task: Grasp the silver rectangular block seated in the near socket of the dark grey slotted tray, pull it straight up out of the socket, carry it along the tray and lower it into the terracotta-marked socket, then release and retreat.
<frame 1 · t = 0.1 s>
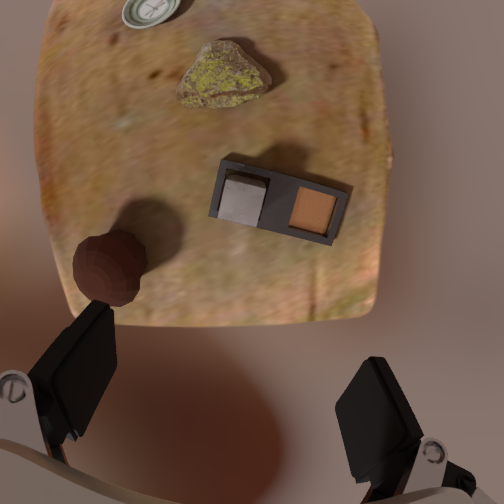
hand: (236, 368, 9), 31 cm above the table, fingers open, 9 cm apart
saucer: (155, 10, 27), on the table
rock: (222, 75, 32), on the table
dark grey slotted tray: (278, 201, 38), on the table
muffin: (123, 255, 41), on the table
silver rectangular block: (243, 192, 37), resting in dark grey slotted tray
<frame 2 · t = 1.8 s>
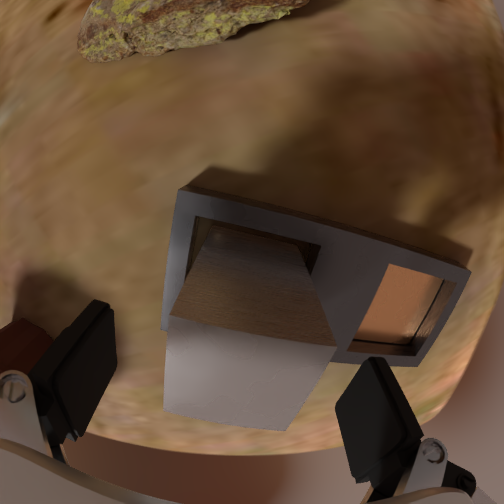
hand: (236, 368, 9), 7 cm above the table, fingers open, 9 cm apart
dark grey slotted tray: (329, 292, 15), on the table
muffin: (41, 354, 19), on the table
silver rectangular block: (245, 273, 15), resting in dark grey slotted tray
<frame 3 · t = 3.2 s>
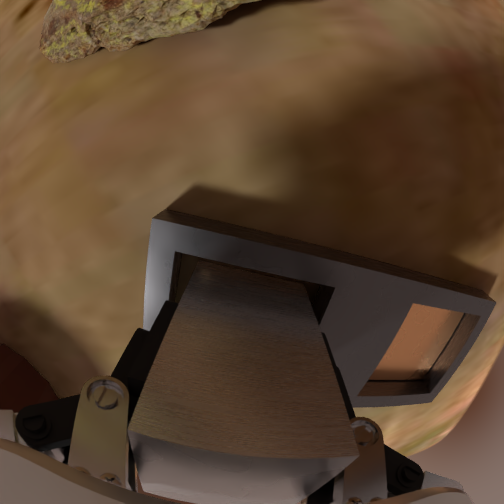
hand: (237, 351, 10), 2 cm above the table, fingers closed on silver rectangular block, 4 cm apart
dark grey slotted tray: (340, 333, 12), on the table
muffin: (26, 381, 16), on the table
silver rectangular block: (240, 316, 12), resting in dark grey slotted tray, touching gripper
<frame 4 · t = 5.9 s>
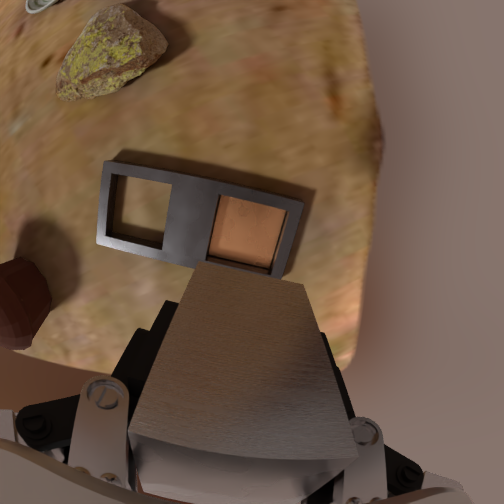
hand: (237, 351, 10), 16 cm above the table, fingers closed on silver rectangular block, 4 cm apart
rock: (112, 52, 18), on the table
dark grey slotted tray: (192, 219, 24), on the table
muffin: (30, 286, 27), on the table
silver rectangular block: (239, 317, 12), point 13 cm above the table, touching gripper
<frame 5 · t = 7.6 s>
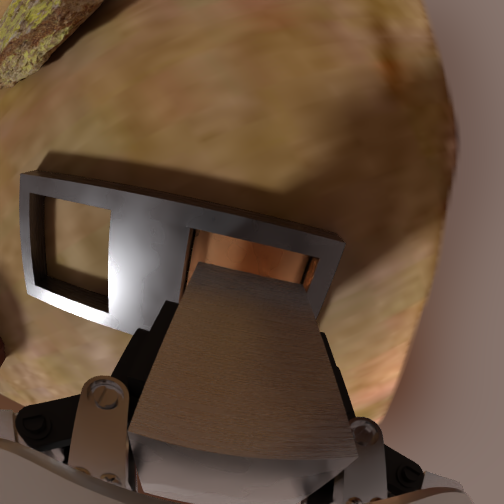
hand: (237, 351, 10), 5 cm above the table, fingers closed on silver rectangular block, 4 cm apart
rock: (47, 20, 8), on the table
dark grey slotted tray: (152, 264, 14), on the table
silver rectangular block: (239, 317, 12), point 3 cm above the table, touching gripper
when the fingers open (3 cm above the table, at t = 8.8 s): silver rectangular block stays where it is, resting on dark grey slotted tray.
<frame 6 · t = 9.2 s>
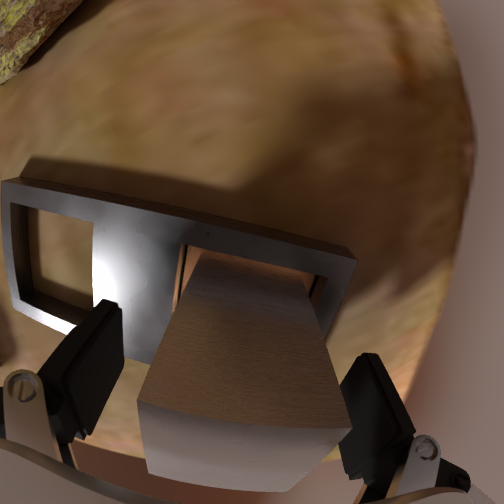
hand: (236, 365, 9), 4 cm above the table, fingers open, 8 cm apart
rock: (30, 20, 7), on the table
dark grey slotted tray: (141, 281, 13), on the table
silver rectangular block: (240, 306, 13), resting on dark grey slotted tray
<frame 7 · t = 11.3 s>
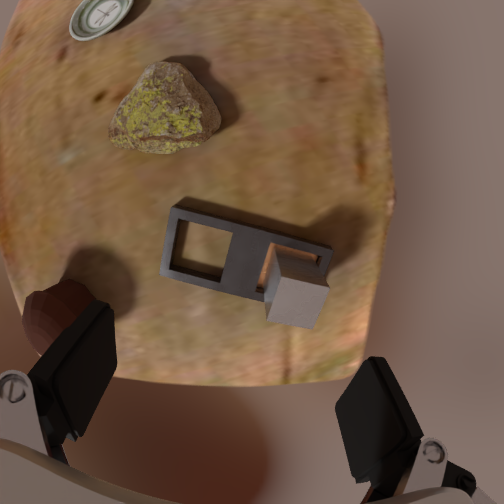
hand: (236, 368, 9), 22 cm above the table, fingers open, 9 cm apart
saucer: (107, 16, 20), on the table
rock: (165, 108, 26), on the table
dark grey slotted tray: (244, 258, 31), on the table
muffin: (77, 305, 34), on the table
silver rectangular block: (287, 269, 31), resting on dark grey slotted tray
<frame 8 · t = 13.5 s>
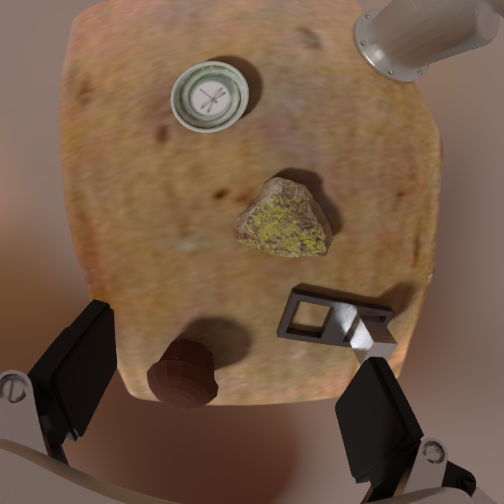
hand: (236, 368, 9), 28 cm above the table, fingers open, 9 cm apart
saucer: (211, 99, 31), on the table
rock: (283, 215, 36), on the table
dark grey slotted tray: (336, 320, 42), on the table
muffin: (189, 357, 45), on the table
silver rectangular block: (362, 324, 42), resting on dark grey slotted tray
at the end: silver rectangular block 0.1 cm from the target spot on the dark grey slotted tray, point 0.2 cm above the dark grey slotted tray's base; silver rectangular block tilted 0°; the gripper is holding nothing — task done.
